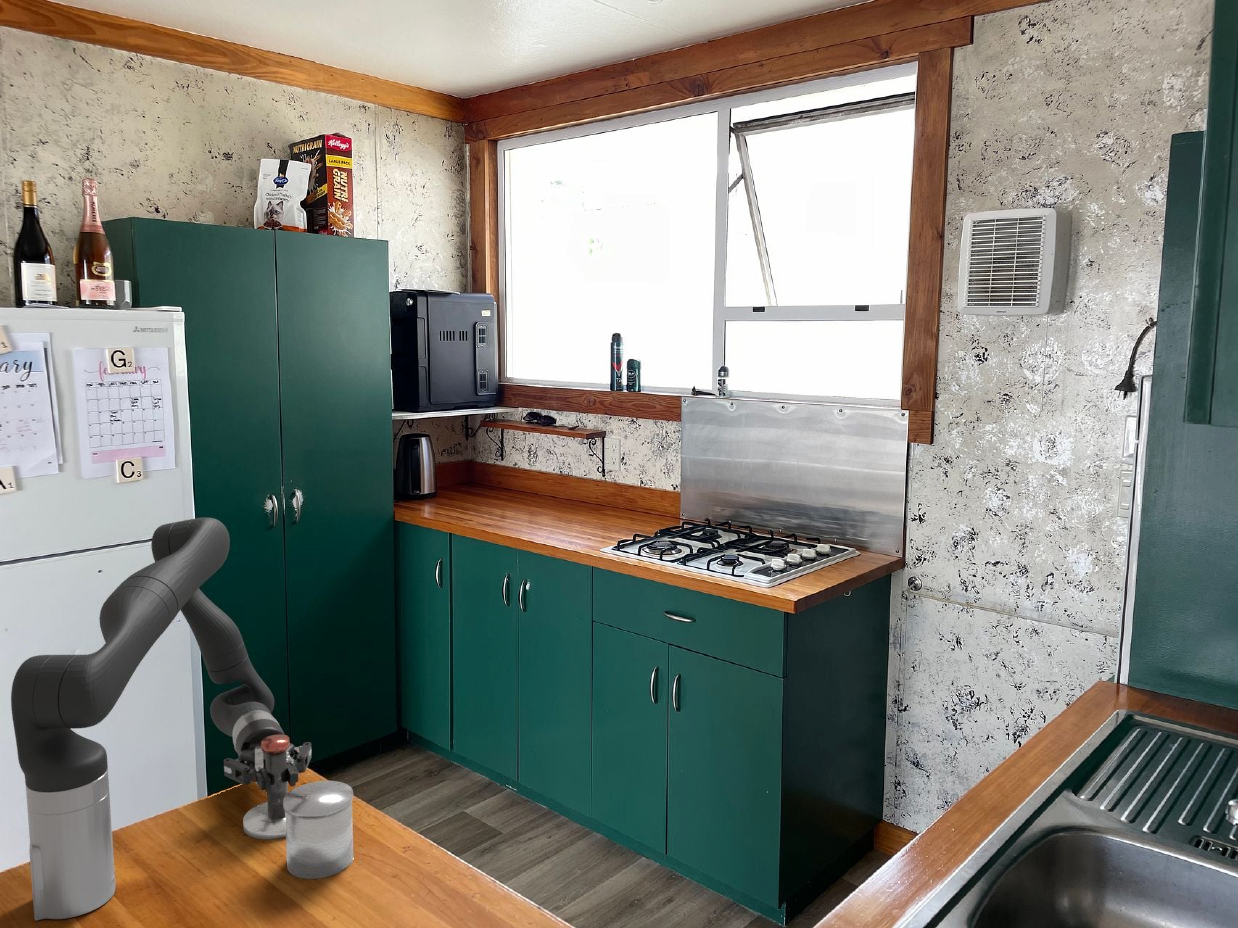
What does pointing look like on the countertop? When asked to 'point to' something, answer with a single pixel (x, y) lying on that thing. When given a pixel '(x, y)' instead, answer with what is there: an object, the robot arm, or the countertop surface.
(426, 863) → the countertop surface
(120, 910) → the countertop surface
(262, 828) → the lid
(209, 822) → the countertop surface
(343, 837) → the pot
